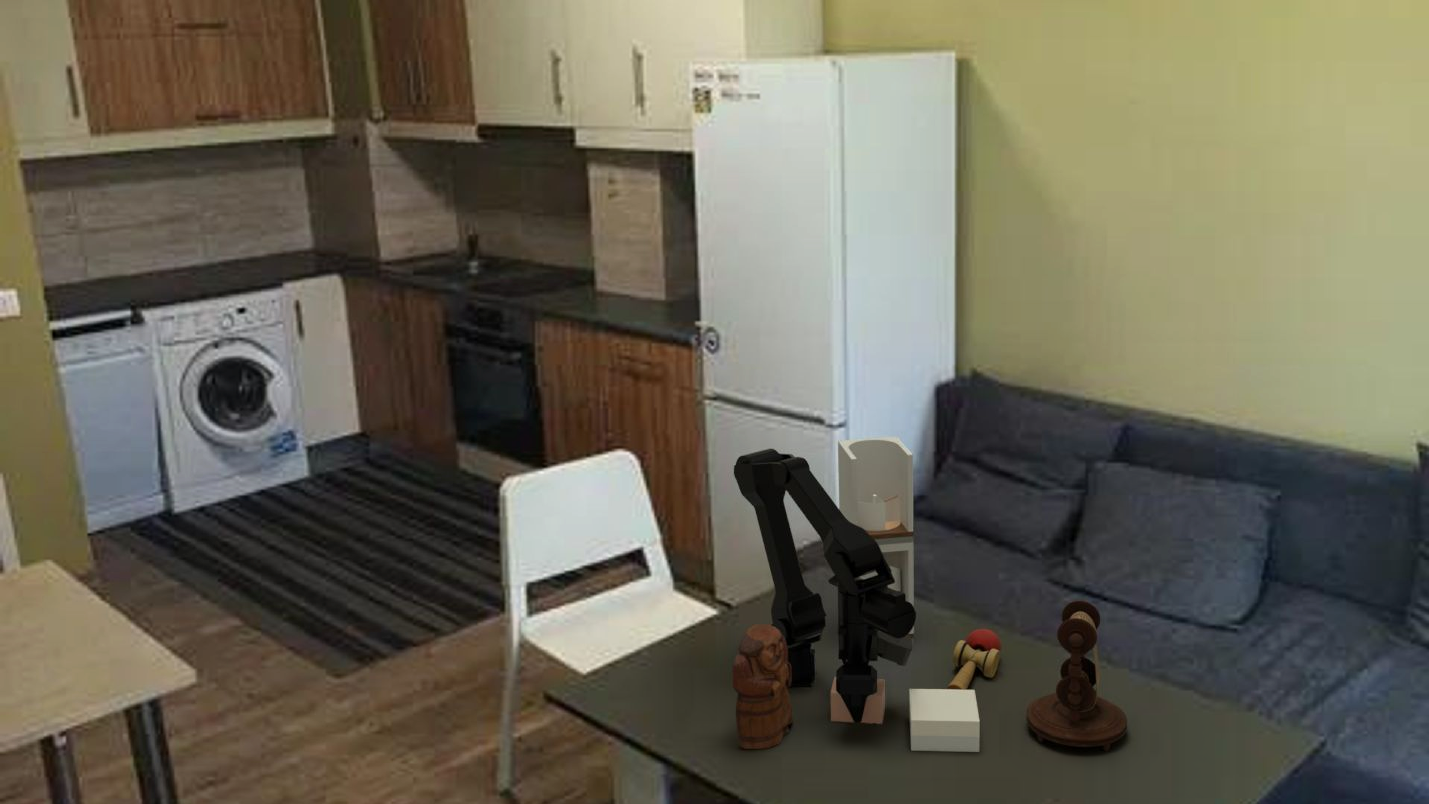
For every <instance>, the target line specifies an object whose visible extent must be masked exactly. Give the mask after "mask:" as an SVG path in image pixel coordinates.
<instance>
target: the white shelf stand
mask: <svg viewBox="0 0 1429 804" xmlns="http://www.w3.org/2000/svg"><path fill="white" fill-rule="evenodd" d="M837 460H838V463H837V465H838V466H837V467H838V469H837V470H838V506H839V507H838V508H839V510H840V511H841V512H842V514H843V515H844V516H845V518H846V519H847V520H848V521H849V522H851V523H853V524H855V525H857V526H859V527H861V528H863V529H864V530H865V531H866V532H867V533H868V534H869V535H870V536H871V537H872V538H873V539H874V540H875V541H876V542H877V543H878V545H879V547H880V549H881V552H882V554H883V556H884V558H885V560H886V562H887V564H888V565H889V567H890V569H891V570H892V572H891V573H892V575H893V578H894V580H895V583H893V584H890V585H888V588H891V589H893V590H895V591H901V592H903V593H905V595H906V601H908V602H910V603H911V604H912V605H913V607H914V604H915V599H914V598H915V597H914V596H915V595H914V594H915V593H914V591H915V588H914V587H915V583H914V579H915V578H914V572H915V571H914V570H915V569H914V567H915V566H914V565H915V564H914V558H915V557H914V551H915V550H914V549H915V548H914V454H913V453H912V452H911V451H910V450H909V449H908V447H907V446H906V445H905V444H904V443H903V442H902V440H900V439H899V437H898V436H886V437H873V438H862V439H861V438H859V439H845V440H838V441H837ZM875 575H878V573H877V572H876V571H875V572H872V573H869V574H866V575H863V576H860V578H862V579H867V578H870V577H873V576H875ZM914 608H915V607H914ZM908 634H909V637H910V638H911V639H912V645H914V644H915V625H914V626H913V628H912V630H911V631H910V632H909V633H908Z"/></svg>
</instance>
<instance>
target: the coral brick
mask: <svg viewBox="0 0 1429 804" xmlns="http://www.w3.org/2000/svg"><path fill="white" fill-rule="evenodd" d="M885 682H886V680H885V679H883V678H882V679H881V678H880V679H879V678H877V692H876V693H875V694H873V695H869V696H868V697H867V700H866V704H865V708H864V713H863V717H862V721H861V723H860V724H862V723H863V722H865V723H863V724H873V723H876V725H883V723H882V722H884V717H885V708H886V686H885V685H886V683H885ZM830 722H840V723H841V722H843V723H855V722H854V721H853V719H852V717H851V715H850V713H849V711H848V709H847V707H846V705H845V703H844V701H843V699H842V698H841V696H840V694H839V693H838V692H837V691H836V676H834V678H833V682H832V686H831V690H830ZM880 723H881V724H880Z"/></svg>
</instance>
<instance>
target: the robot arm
mask: <svg viewBox="0 0 1429 804" xmlns="http://www.w3.org/2000/svg"><path fill="white" fill-rule="evenodd" d="M733 476H734V479H735V481H736V483H737V486H738V488H739V491H740V494H741V496H743V498H744V499H746V500H747V502H748V503H749V504H751V506H752V507H753V508H754V511H755V515H756V520H757V523H758V528H759V531H760V535H761V540H762V542H763V547H764V550H765V554H766V559H767V562H768V567H769V571H770V574H771V578H772V582H773V586H774V591H775V593H774V596H773V600H772V605H771V609H770V614H771V620H772V624H770V625H771V626H774V627H776V628H777V629H778V630H779V631H780V632H781V633H782V635H783V636H784V637H785V640H786V644H787V649H788V662H789V663H790V664H791V672H792V681H791V686H790V687H795V686H796V687H797V686H798V687H810V686H812V685H813V680H814V678H816V674H817V673H816V672H817V669H816V667H817V666H816V664H817V663H816V658H817V657H816V649H815V648H812V647H813V646H812V644H814V643H816V642H817V643H818V642H820V641H821V639H822V635H823V631H824V628H826V626H827V625H826V623H827V621H826V617H827V613H826V611H825V610H824V607H823V601H822V597H821V595H820V593H819V592H816V593H814V592H813V591H812V590H811V589H810V588H809V587H808V586H807V585H806V583H805V580H804V576H803V572H802V567H801V564H800V559H799V557H798V554H797V553H798V552H797V549H796V545H795V541H794V537H793V533H792V529H791V525H790V521H789V517H788V514H787V509H786V506H785V496H786V492H787V493H788V495H789V496H790V497H791V499H792V501H794V503H795V505H796V506H797V508H798V509H799V510H800V512H802V514H803V516H804V517H805V518H806V520H807V521H808V522H809V524H810V526H812V528H813V529H814V531H815V532H816V533H817V535H818V536H819V539H821V541H822V543H823V545H822V546H823V557H824V558H825V560H826V562H827V563H828V565H829V567H830V568H831V571H832V572H833V574H834V575H833V576H831V577H830V578H828V581H827V582H828V584H830V585H832V586H834V587H836V588H837V615H838V616H837V621H838V622H837V623H838V624H837V625H838V626H837V634H838V635H837V636H838V654H837V655H838V660H841V661H842V665H840V666H839V667H838V668H837V669H836V675H835V677H836V691H837V692H838V693H839V694H840V696H841V698H842V699H843V701H844V703H845V705H846V707H847V709H848V711H849V713H850V715H851V717H852V719H853V721H854V722H853V723H856V724H859V723H860V724H862V723H861V721H862V717H863V713H864V708H865V704H866V700H867V697H868V696H869V695H873V694H875V693H876V692H877V679H878V670H877V669H876V668H875V667H874V666H873V665H871V664H869V663H870V662H878V658H879V657H880V658H881V659H883V660H886V661H888V662H889V661H890V662H893V663H895V664H896V665H897V666H901V667H905V666H906V665H907V663H908V660H909V657H910V655H911V652H912V650H913V644H912V639H911V638H910V637H909V634H908V633H909V632H910V631H911V630H912V628H913V626H914V627H915V623H916V619H917V612H916V610H915V607H913V605H912V604H911V603H910V602H908V601H906V595H905V593H903V592H901V591H895V590H893V589H891V588H888V585H890V584H893V583H895V580H894V578H893V575H892V573H891V572H892V570H891V569H890V567H889V565H888V564H887V562H886V560H885V558H884V556H883V554H882V552H881V549H880V547H879V545H878V543H877V542H876V541H875V540H874V539H873V538H872V537H871V536H870V535H869V534H868V533H867V532H866V531H865V530H864V529H863V528H861V527H859V526H857V525H855V524H853V523H851V522H849V521H848V520H847V519H846V518H845V516H844V515H843V514H842V512H841V511H840V510H839V507H838V506H837V505H836V503H835V502H834V501H833V499H832V498H831V496H829V493H827V491H826V489H824V487H823V486H822V484H821V483H820V482H819V481H818V479H817V478H816V476H815V475H814V474H813V472H812V471H811V467H810V464H809V462H808V461H807V459H806V458H804V457H801V456H795V455H794V454H792V453H779V452H778V450H776V449H774V448H767V449H762V450H758V451H755V452H750V453H747V454H743V455H740V456H738V458H737V459H736V462H735V465H734V466H733ZM875 571H876V572H877V573H878V575H875V576H873V577H870V578H867V579H862V578H860V576H863V575H866V574H869V573H872V572H875Z"/></svg>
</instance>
